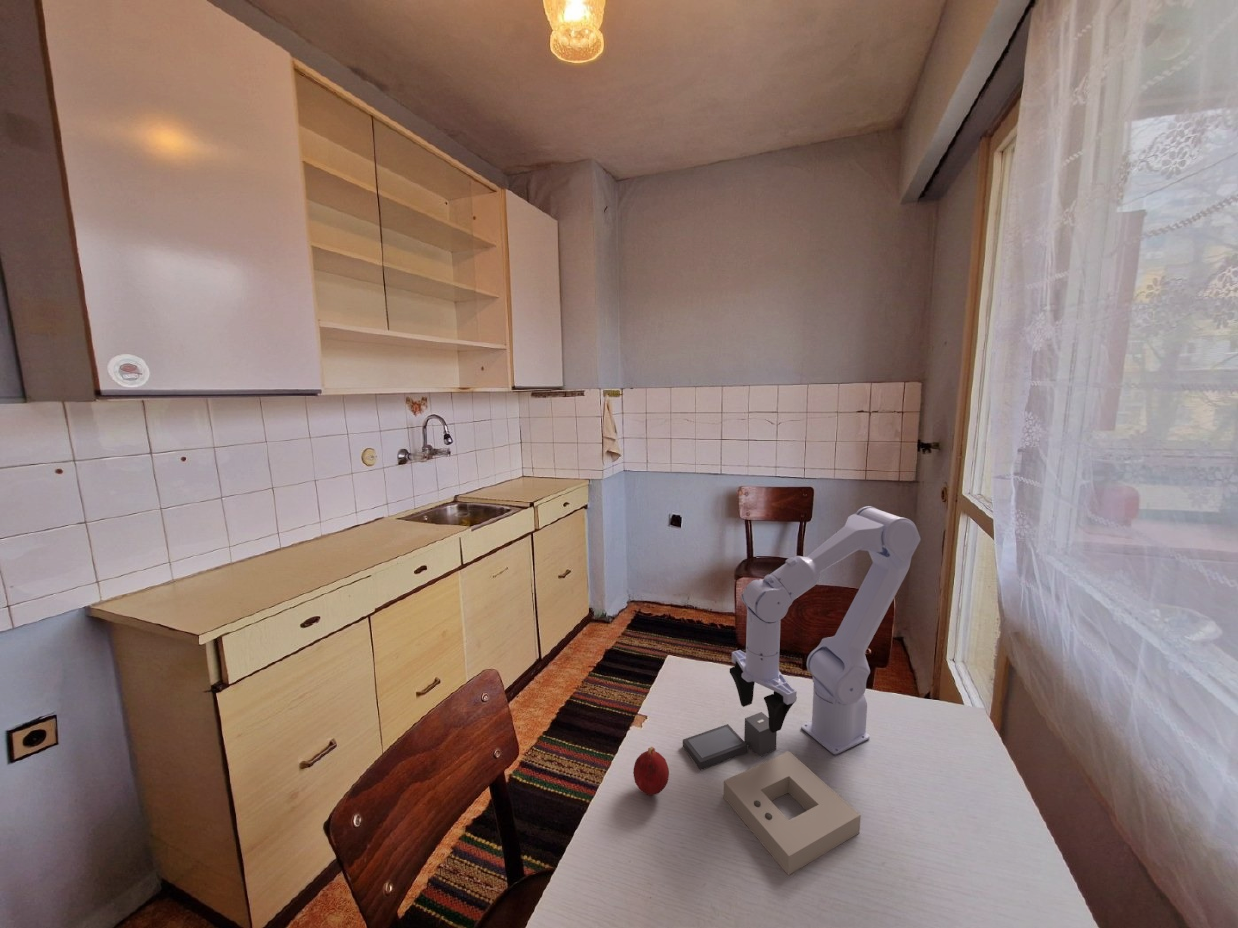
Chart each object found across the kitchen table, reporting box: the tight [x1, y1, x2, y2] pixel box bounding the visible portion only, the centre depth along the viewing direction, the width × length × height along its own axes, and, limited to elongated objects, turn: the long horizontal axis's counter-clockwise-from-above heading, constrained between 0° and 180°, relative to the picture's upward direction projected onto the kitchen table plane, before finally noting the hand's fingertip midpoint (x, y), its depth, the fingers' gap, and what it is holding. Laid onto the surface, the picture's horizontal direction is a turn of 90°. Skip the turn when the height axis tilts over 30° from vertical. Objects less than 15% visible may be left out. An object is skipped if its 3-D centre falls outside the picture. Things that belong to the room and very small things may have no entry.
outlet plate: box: [722, 751, 861, 876], centre depth 73 cm, size 14×14×3 cm
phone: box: [682, 723, 749, 771], centre depth 87 cm, size 10×6×2 cm, turn 113°
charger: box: [743, 711, 778, 758], centre depth 87 cm, size 4×4×5 cm
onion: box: [632, 746, 670, 796], centre depth 77 cm, size 6×6×8 cm
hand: (760, 716), depth 87 cm, fingers open, 7 cm apart
